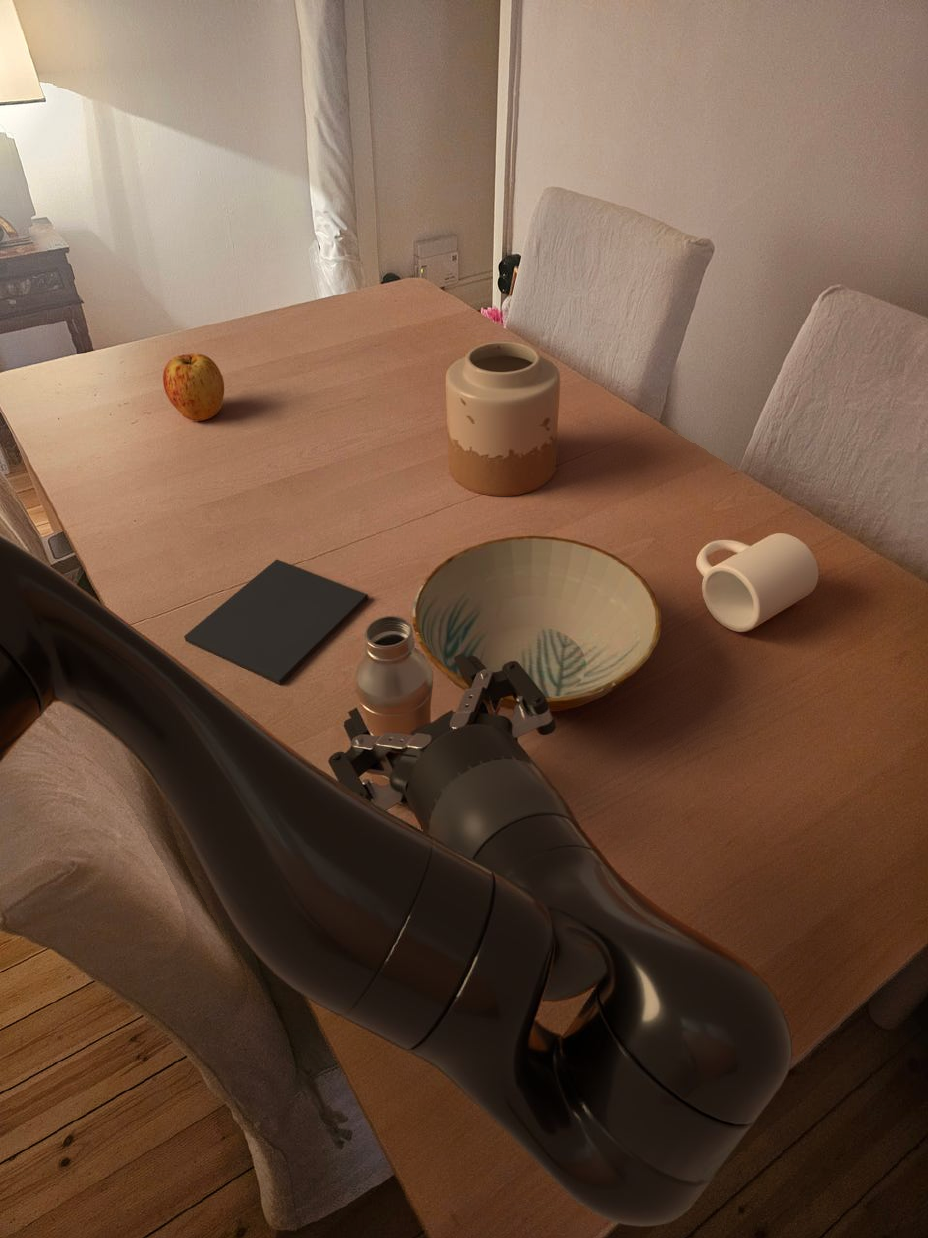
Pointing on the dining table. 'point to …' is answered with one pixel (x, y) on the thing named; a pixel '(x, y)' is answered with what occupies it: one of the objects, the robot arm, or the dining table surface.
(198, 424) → the dining table surface
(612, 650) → the bowl
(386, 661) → the silver metal bottle
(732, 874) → the dining table surface
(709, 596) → the mug
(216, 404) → the apple
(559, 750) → the dining table surface
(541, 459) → the vase
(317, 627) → the mat
